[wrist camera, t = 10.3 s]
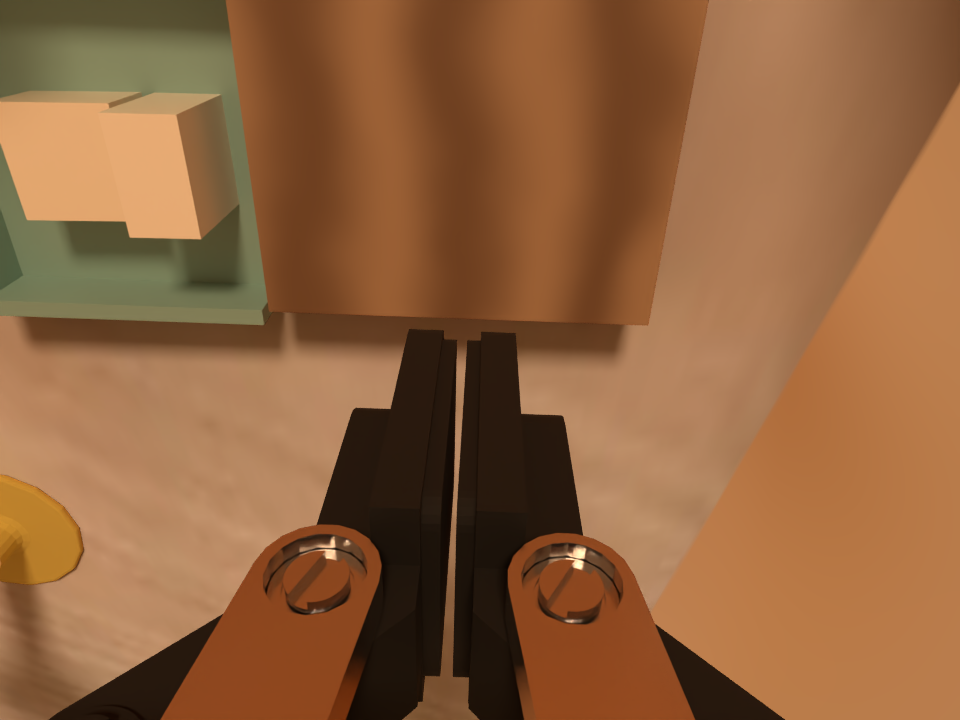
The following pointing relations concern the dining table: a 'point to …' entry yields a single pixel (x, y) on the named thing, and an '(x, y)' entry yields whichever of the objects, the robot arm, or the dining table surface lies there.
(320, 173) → the board
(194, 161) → the tile
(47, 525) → the candle
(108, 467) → the dining table surface
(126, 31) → the tray
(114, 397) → the dining table surface
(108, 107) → the tile
